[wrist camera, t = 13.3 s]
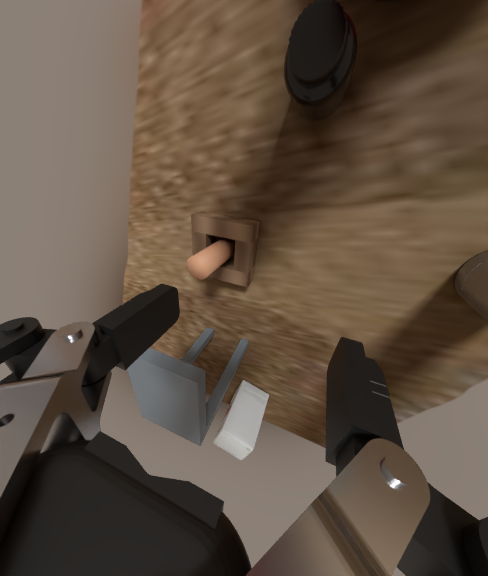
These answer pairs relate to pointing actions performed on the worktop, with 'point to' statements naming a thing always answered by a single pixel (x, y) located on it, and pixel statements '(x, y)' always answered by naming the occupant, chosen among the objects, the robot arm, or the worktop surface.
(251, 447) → the supplement box
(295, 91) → the supplement bottle
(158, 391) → the grey u-shaped bracket
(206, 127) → the worktop surface
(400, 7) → the worktop surface
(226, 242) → the peg
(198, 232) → the socket block
